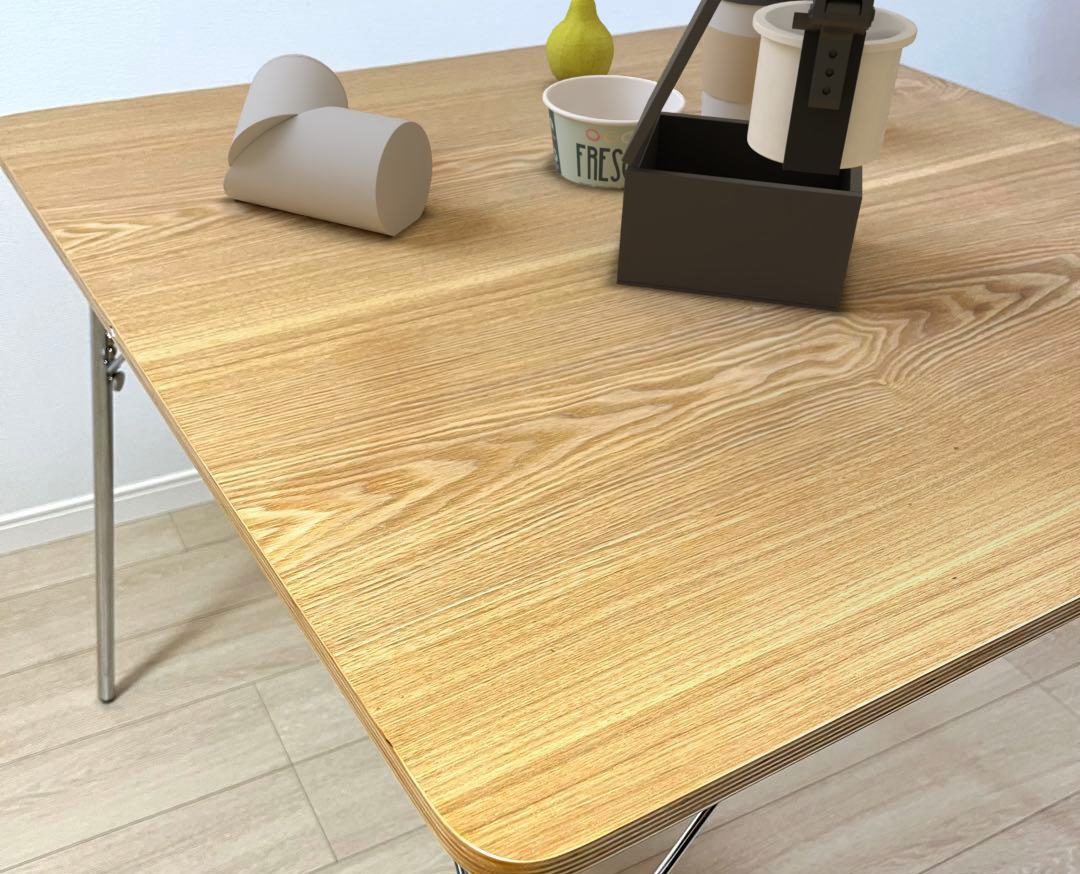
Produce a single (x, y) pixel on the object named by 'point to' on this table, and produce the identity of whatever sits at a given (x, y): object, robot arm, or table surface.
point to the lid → (670, 77)
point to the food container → (598, 124)
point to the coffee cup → (731, 59)
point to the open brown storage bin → (733, 218)
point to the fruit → (580, 43)
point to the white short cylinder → (781, 75)
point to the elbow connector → (326, 152)
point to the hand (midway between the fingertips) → (812, 139)
